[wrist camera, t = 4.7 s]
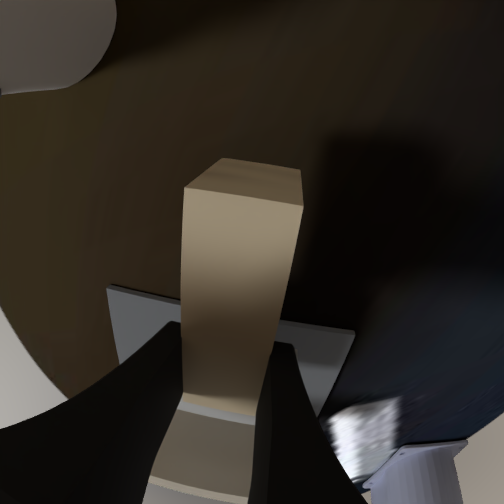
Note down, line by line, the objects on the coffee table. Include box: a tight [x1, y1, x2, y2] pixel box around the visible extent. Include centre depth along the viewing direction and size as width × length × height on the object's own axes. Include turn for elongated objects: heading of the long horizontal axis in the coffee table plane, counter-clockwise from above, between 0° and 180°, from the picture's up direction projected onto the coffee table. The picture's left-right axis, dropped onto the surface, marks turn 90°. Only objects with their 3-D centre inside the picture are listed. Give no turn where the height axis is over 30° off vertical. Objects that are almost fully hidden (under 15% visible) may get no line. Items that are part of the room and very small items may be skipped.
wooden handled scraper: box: [177, 158, 303, 425], centre depth 11 cm, size 12×5×4 cm, turn 172°
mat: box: [107, 285, 355, 417], centre depth 21 cm, size 18×14×1 cm
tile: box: [148, 409, 255, 504], centre depth 17 cm, size 2×8×7 cm, turn 83°
